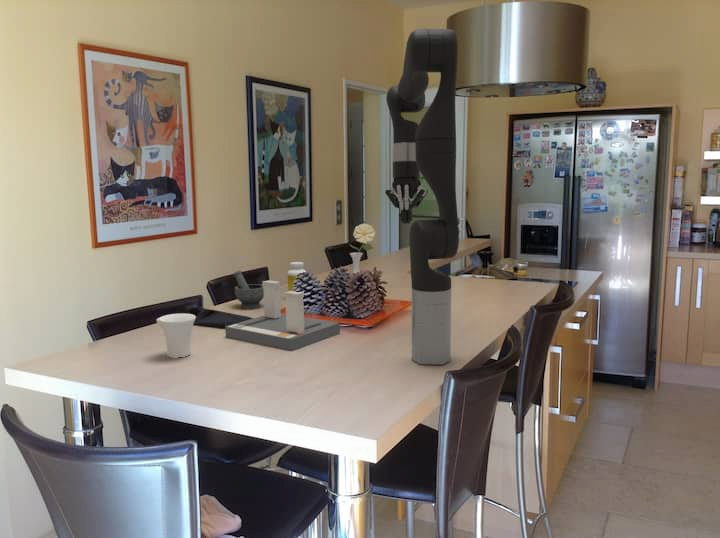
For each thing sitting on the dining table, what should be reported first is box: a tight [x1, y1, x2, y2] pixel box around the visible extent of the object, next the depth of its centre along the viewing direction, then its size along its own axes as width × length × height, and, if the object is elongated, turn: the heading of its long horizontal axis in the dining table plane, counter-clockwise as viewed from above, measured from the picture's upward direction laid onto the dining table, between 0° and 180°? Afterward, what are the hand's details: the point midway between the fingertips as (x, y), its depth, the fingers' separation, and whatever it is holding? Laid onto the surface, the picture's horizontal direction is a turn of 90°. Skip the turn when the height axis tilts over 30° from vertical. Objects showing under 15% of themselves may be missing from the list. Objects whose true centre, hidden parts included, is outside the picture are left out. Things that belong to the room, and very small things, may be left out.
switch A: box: [283, 290, 305, 333], centre depth 163 cm, size 3×5×10 cm, turn 55°
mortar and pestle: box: [233, 270, 264, 310], centre depth 208 cm, size 11×9×12 cm
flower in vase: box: [349, 223, 376, 273], centre depth 233 cm, size 13×11×25 cm
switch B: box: [261, 280, 282, 318], centre depth 179 cm, size 3×5×10 cm, turn 55°
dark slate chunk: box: [182, 305, 255, 329], centre depth 189 cm, size 15×22×5 cm
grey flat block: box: [224, 312, 341, 352], centre depth 172 cm, size 20×24×3 cm
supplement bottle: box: [287, 261, 307, 292], centre depth 219 cm, size 7×7×13 cm
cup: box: [156, 313, 196, 358], centre depth 154 cm, size 9×9×10 cm
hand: (406, 223), depth 174 cm, fingers closed
